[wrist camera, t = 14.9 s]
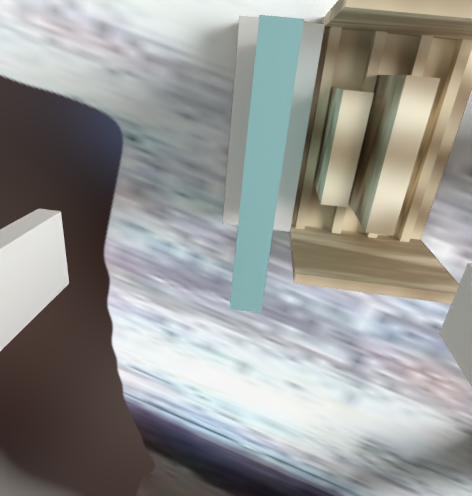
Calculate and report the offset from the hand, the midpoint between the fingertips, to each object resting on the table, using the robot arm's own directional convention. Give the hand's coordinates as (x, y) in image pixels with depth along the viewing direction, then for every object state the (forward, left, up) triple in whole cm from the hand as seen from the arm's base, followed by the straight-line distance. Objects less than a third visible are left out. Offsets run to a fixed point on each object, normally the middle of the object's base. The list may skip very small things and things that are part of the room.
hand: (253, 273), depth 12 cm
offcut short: (0, -7, -30) cm, 31 cm away
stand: (0, 0, -32) cm, 32 cm away
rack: (0, -11, -32) cm, 34 cm away
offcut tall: (0, -11, -30) cm, 32 cm away
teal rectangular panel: (0, 0, -31) cm, 31 cm away
